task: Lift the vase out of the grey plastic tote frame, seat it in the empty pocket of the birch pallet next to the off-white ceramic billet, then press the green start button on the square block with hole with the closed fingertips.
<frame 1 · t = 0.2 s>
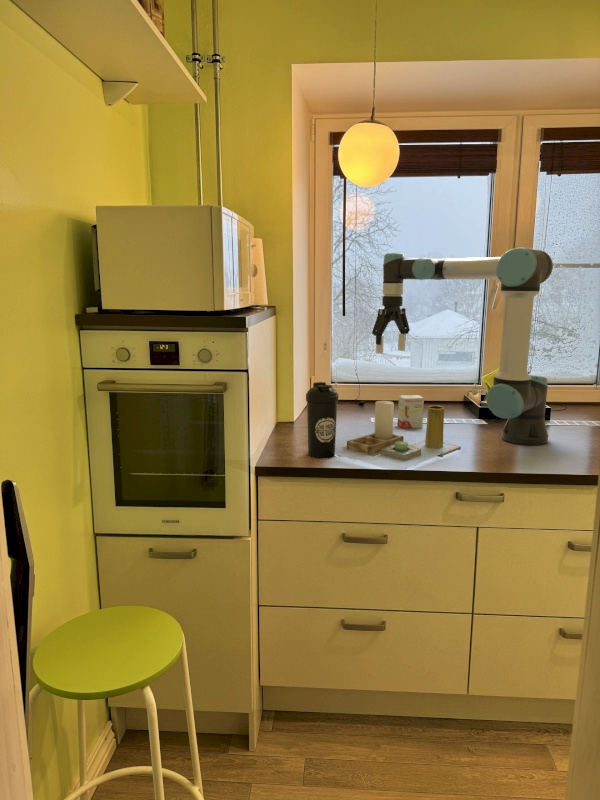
hand: (390, 352, 225), 28 cm above the worktop, fingers open, 13 cm apart
vase: (433, 449, 195), resting in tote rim
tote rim: (433, 449, 195), on the worktop
water bottle: (321, 455, 188), on the worktop
pallet: (375, 449, 194), on the worktop
square block with hole: (400, 458, 185), on the worktop
twin billet: (383, 443, 197), point 1 cm above the worktop, touching pallet
ink box: (409, 427, 224), on the worktop
start button: (401, 446, 184), point 4 cm above the worktop, slide at 0.0 cm
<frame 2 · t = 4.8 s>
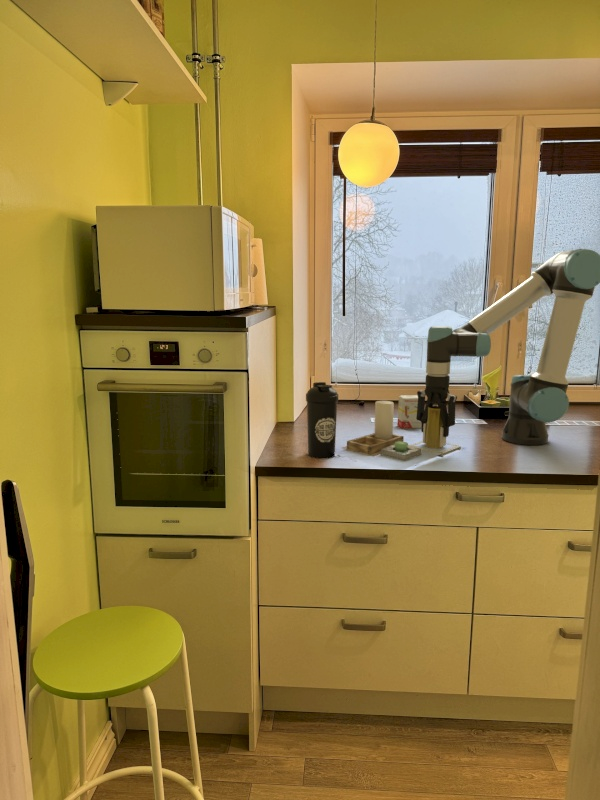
hand: (434, 443, 194), 2 cm above the worktop, fingers closed on vase, 6 cm apart
vase: (434, 449, 195), resting in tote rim, touching gripper
everything else where it was.
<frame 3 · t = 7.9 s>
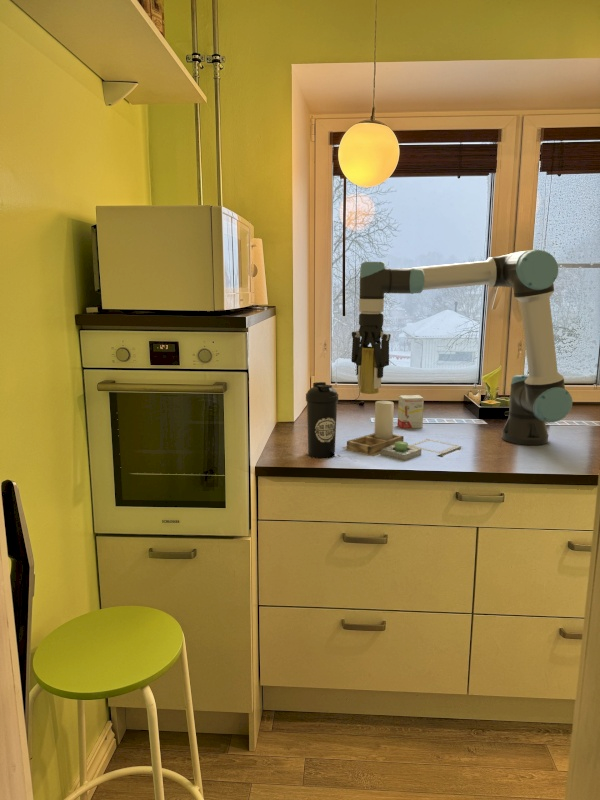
hand: (369, 386, 187), 22 cm above the worktop, fingers closed on vase, 6 cm apart
vase: (369, 392, 187), point 20 cm above the worktop, touching gripper
everything else where it was.
when the fingers open (4 cm above the worktop, at t = 11.2 s): vase drops 1 cm, resting on pallet.
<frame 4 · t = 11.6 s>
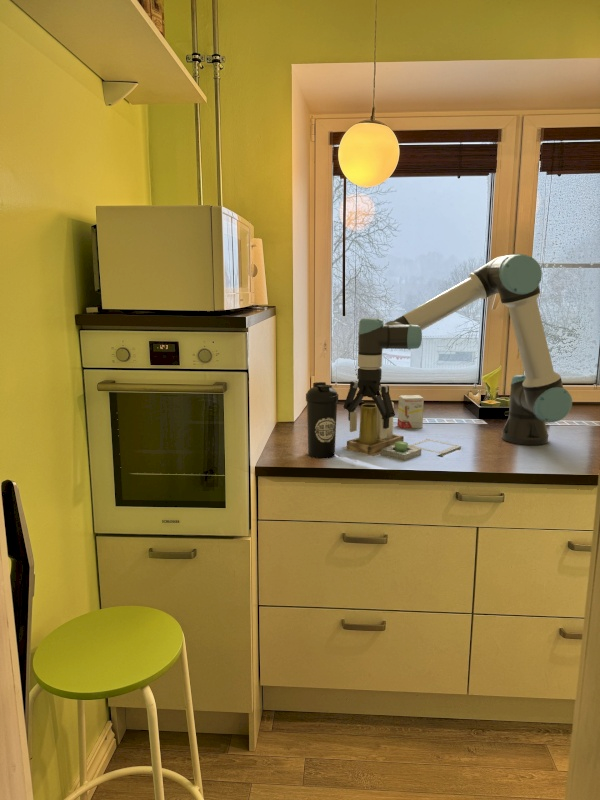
hand: (367, 434, 190), 6 cm above the worktop, fingers open, 11 cm apart
vase: (367, 449, 191), point 1 cm above the worktop, touching pallet
everything else where it was.
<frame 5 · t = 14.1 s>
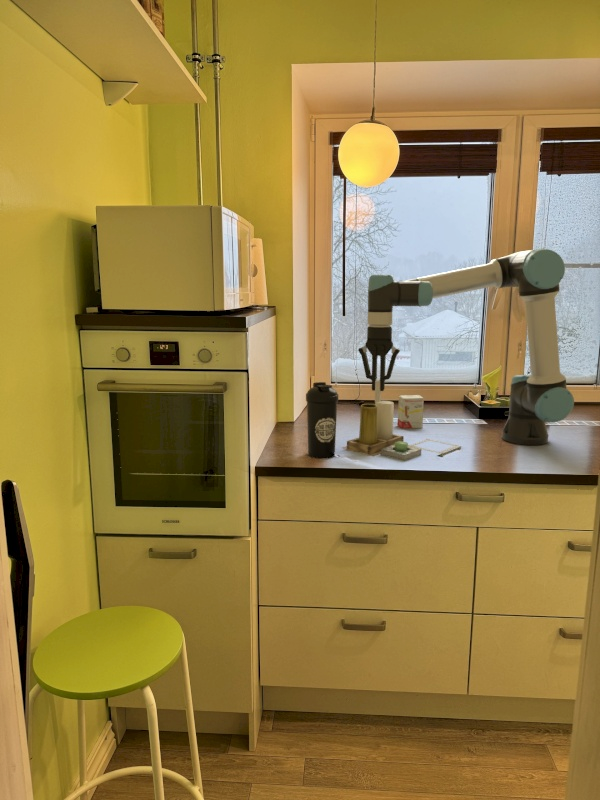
hand: (377, 400, 186), 17 cm above the worktop, fingers closed
nothing on the worktop moved.
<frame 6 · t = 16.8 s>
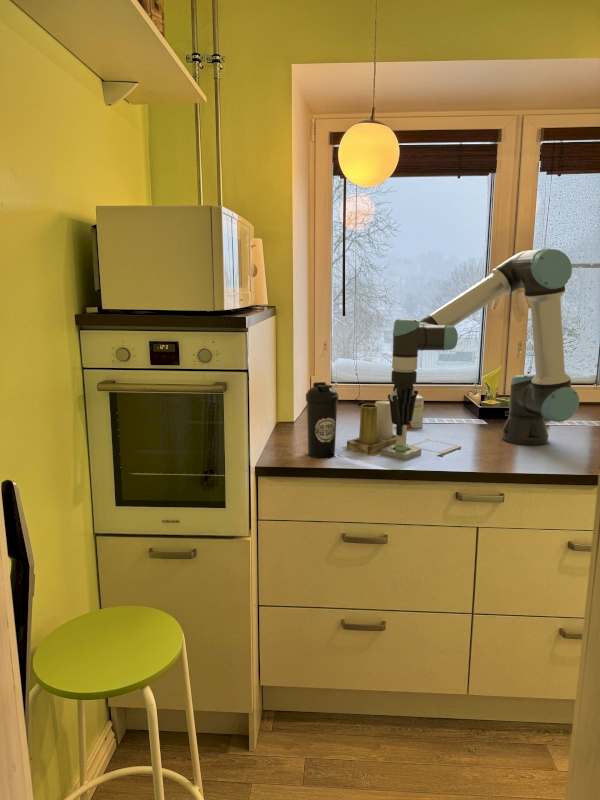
hand: (400, 444, 184), 4 cm above the worktop, fingers closed
start button: (401, 448, 184), point 3 cm above the worktop, slide at 0.8 cm, touching gripper
everything else where it was.
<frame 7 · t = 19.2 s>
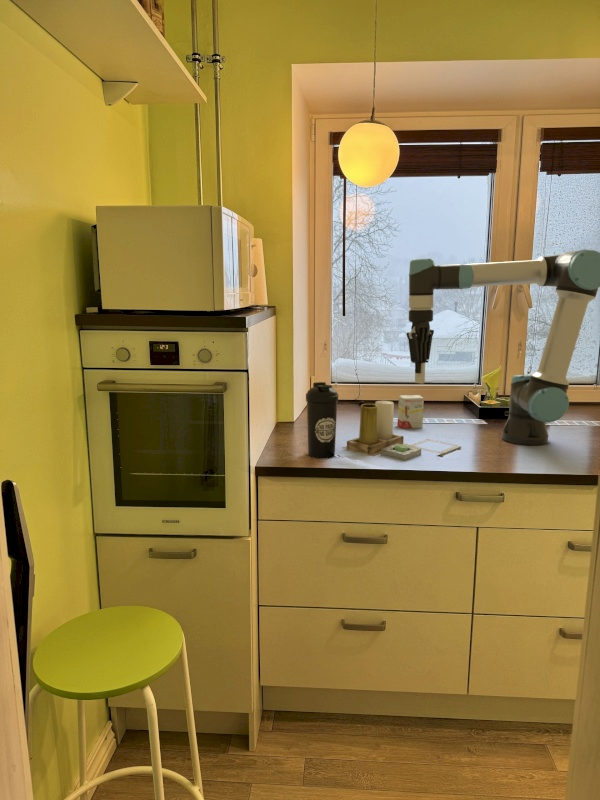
hand: (419, 382, 190), 22 cm above the worktop, fingers closed
start button: (401, 449, 184), point 3 cm above the worktop, slide at 1.2 cm
everything else where it was.
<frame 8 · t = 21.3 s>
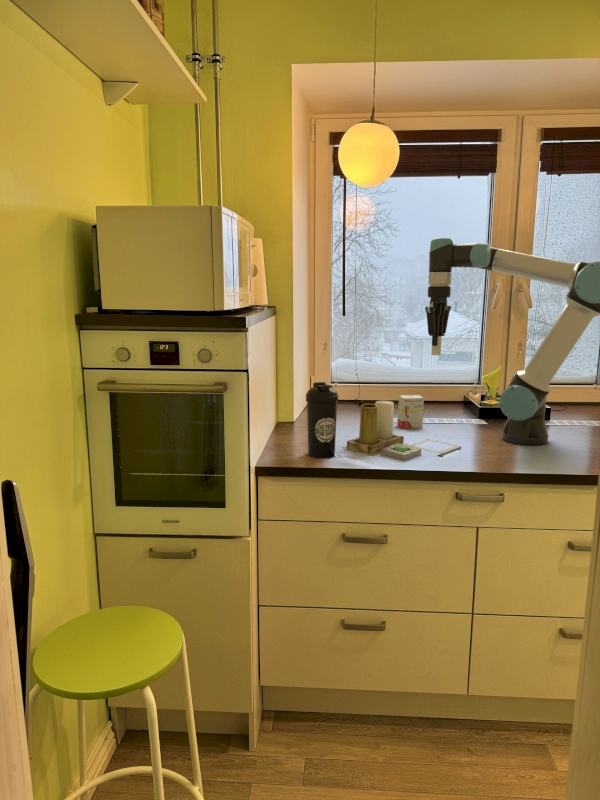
hand: (435, 354, 204), 29 cm above the worktop, fingers closed
nothing on the worktop moved.
at the end: vase 0.2 cm from the target spot on the pallet, point 1.0 cm above the pallet's base; vase tilted 0°; start button slide at 1.2 cm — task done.
